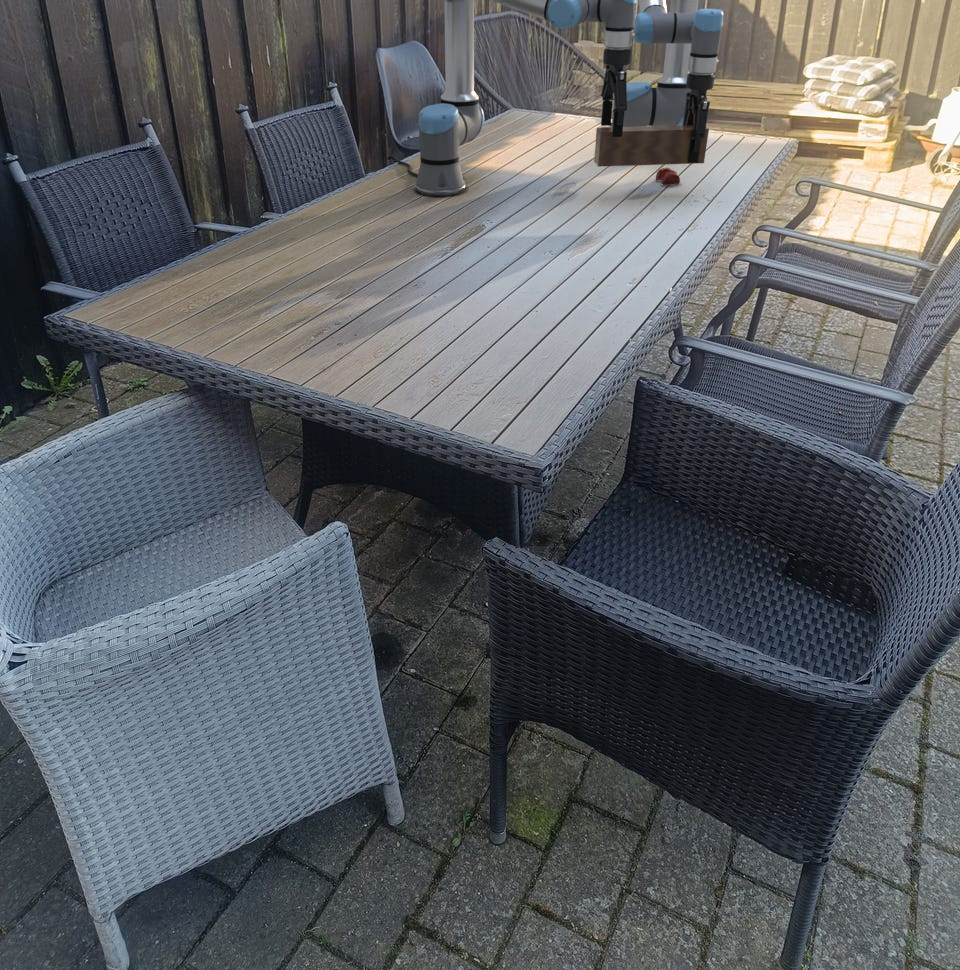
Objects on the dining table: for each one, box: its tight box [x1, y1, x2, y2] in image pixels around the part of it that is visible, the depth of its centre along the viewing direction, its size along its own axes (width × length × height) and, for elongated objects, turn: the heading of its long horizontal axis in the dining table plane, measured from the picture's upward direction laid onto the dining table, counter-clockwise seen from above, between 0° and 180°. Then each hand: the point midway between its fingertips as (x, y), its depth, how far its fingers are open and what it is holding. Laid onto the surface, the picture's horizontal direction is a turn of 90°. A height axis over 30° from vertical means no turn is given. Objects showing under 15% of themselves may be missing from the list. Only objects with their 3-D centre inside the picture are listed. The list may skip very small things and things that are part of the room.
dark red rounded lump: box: [655, 167, 681, 186], centre depth 263 cm, size 6×4×8 cm
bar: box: [593, 125, 710, 167], centre depth 244 cm, size 32×6×10 cm, turn 96°
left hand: (611, 130), depth 240 cm, fingers open, 13 cm apart
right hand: (689, 159), depth 248 cm, fingers closed on bar, 5 cm apart
